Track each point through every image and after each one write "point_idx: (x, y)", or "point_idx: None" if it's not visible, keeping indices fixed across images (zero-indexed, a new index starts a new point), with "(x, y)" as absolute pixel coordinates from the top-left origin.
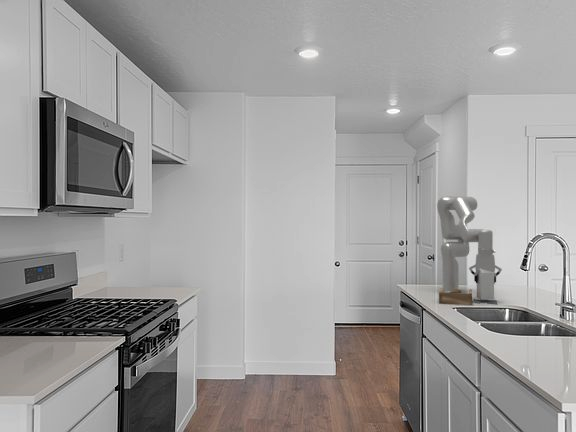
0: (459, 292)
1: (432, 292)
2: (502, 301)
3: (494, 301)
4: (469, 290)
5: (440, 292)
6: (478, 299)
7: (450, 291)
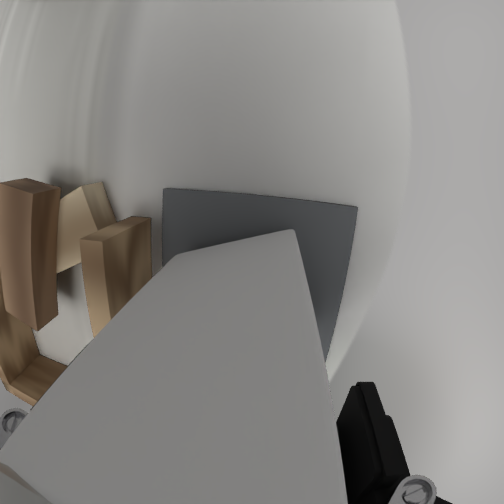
0: (40, 255)
1: (3, 15)
2: (398, 221)
3: (326, 280)
4: (90, 309)
5: (10, 391)
6: (200, 203)
7: (6, 306)
